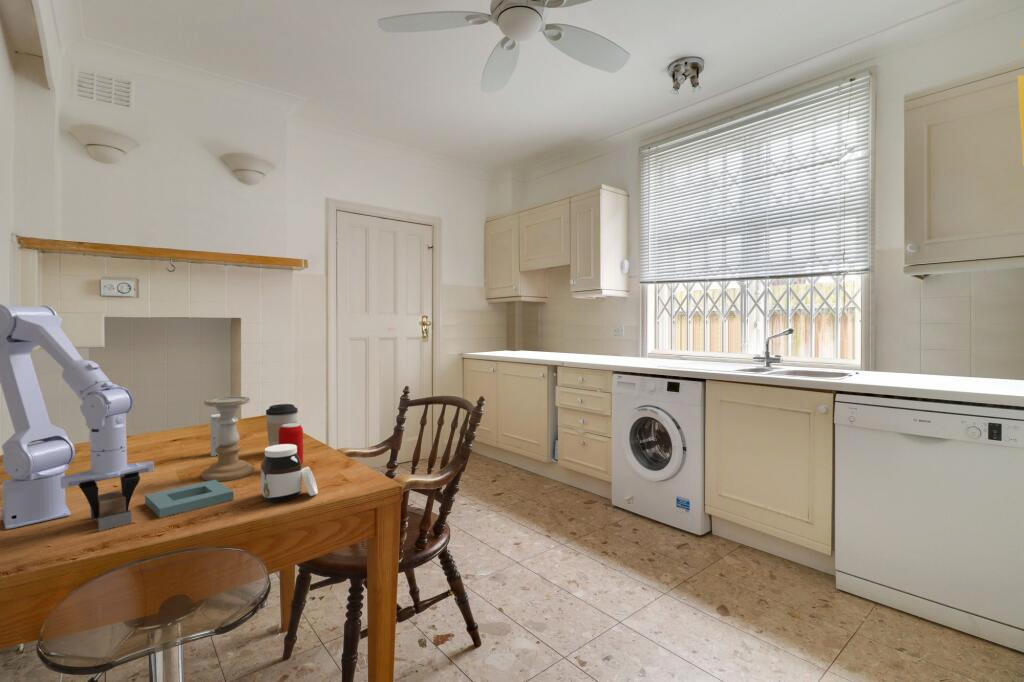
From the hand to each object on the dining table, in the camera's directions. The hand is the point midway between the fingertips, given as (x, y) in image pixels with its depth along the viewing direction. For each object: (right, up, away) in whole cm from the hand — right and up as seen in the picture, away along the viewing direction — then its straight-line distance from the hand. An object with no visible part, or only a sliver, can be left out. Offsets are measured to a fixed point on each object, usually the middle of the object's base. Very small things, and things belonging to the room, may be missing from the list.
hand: (110, 513), depth 99 cm
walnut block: (0, -1, 0) cm, 1 cm away
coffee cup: (+11, 0, +52) cm, 53 cm away
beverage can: (+20, 0, +37) cm, 42 cm away
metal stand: (0, -1, 0) cm, 1 cm away
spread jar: (+30, -1, +15) cm, 34 cm away
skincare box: (-7, 0, +50) cm, 50 cm away
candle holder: (+6, 0, +30) cm, 31 cm away
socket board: (+9, -1, +11) cm, 14 cm away
